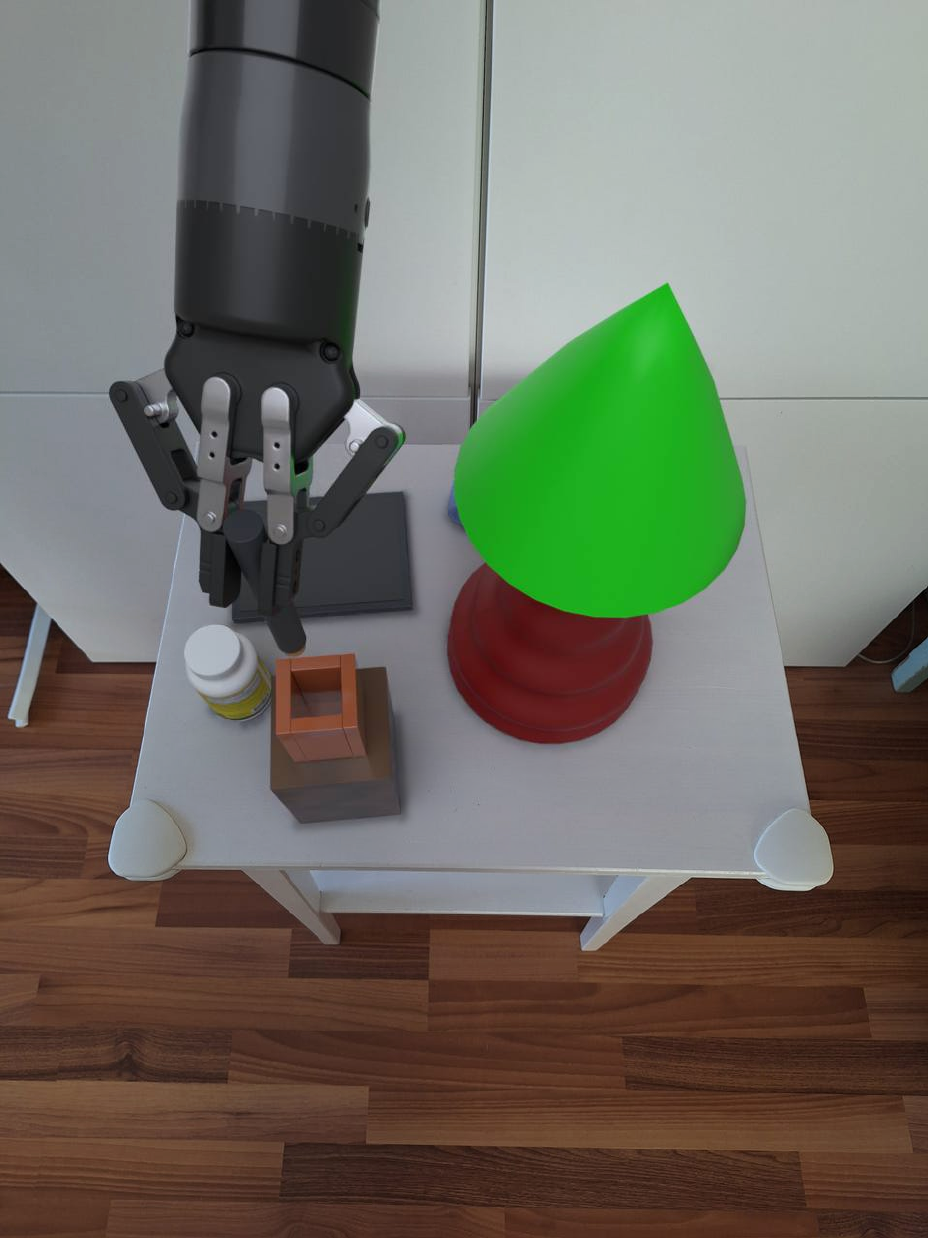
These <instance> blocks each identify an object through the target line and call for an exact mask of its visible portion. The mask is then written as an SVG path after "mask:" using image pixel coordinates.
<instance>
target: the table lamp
mask: <svg viewBox="0 0 928 1238" xmlns="http://www.w3.org/2000/svg"><path fill="white" fill-rule="evenodd" d="M686 318H687V317H686V316H685V315H684V312H683V310H682V308H681V306H680V305H679V302H678V300H677V298H676V296H675V294H674V292H673V290H672V288H671V285H670V284H669V282H665V283H664V284H662V285H661V286H659V287H657V288H656V289H653V290H652V291H651V292H648V293H647V294H645V295H643V296H642V297H640V298H638V299H636V300H635V301H633V302H631V303H630V304H628V305H625V307H622V308H621V309H620V310H618V311H616V312H614V313H613V314H611V315H610V316H608V317H606V318H605V319H603V320H602V321H600V322H598V323H597V324H595V325H593V326H592V327H591V328H589V329H587V330H586V331H584V332H582V333H581V334H579V335H578V336H575V337H574V338H573V339H571V340H570V341H568V342H567V343H566V344H564V345H563V346H562V347H561V348H559V350H557V351H556V352H554V353H553V354H552V355H551V356H550V357H548V359H546V360H545V361H543V362H542V363H541V364H539V366H537V367H536V368H535V369H534V370H533V371H531V372H530V373H528V375H526V376H525V377H524V378H522V379H521V380H520V381H519V382H518V383H516V384H515V385H514V386H513V387H512V388H510V389H509V390H508V391H507V392H506V393H504V394H503V395H502V396H501V397H500V398H498V399H497V400H495V401H494V403H492V404H491V405H489V407H487V408H486V409H485V410H484V411H483V412H482V414H481V415H480V416H479V417H478V418H477V420H476V421H475V422H474V423H473V424H472V426H471V427H470V429H469V431H468V432H467V434H466V436H465V438H464V440H463V442H462V443H461V446H459V447H460V448H459V451H458V455H457V459H456V462H455V466H454V473H453V474H454V477H453V478H454V480H453V481H454V495H455V500H456V504H457V509H458V514H459V518H460V520H461V523H462V525H461V526H462V527H463V530H464V531H465V533H466V536H467V538H468V539H469V542H470V544H471V545H472V546H473V547H474V549H475V551H477V553H478V554H479V556H480V557H481V558H482V559H483V560H484V563H483V564H481V565H480V566H479V567H478V568H477V569H475V571H474V572H472V574H471V575H470V576H469V577H468V579H467V580H466V581H465V582H464V584H463V585H462V586H461V589H460V591H459V593H458V594H457V597H456V599H455V601H454V604H453V608H452V612H451V617H450V623H449V627H448V631H447V636H446V637H447V641H446V642H447V643H446V645H447V646H446V647H447V648H446V650H447V651H446V652H447V653H446V654H447V660H448V666H449V671H450V674H451V677H452V679H453V680H452V681H453V682H454V684H455V686H456V690H457V691H458V692H459V694H460V696H461V697H462V698H463V700H464V701H465V702H466V704H467V705H468V707H469V708H471V710H473V711H474V713H475V714H476V715H477V716H479V717H480V718H481V719H482V720H483V721H484V722H485V723H487V724H488V725H490V726H492V727H493V728H494V729H496V730H498V731H499V732H500V733H503V734H506V735H507V736H511V737H512V738H515V739H517V740H520V741H525V742H530V743H534V744H540V745H541V744H547V745H548V744H550V745H552V744H553V745H555V744H556V745H557V744H558V745H561V744H566V743H572V742H578V741H582V740H584V739H587V738H590V737H593V736H595V735H598V734H600V733H601V732H602V731H604V730H606V729H607V728H609V727H611V725H613V724H614V723H616V721H617V720H618V719H619V718H621V716H622V715H623V714H624V713H625V712H626V711H627V710H628V709H629V707H630V706H631V704H632V703H633V701H634V699H635V698H636V697H637V695H638V692H639V689H640V687H641V685H642V683H643V682H644V680H645V678H646V675H647V673H648V670H649V668H650V664H651V661H652V654H653V653H652V652H653V644H654V640H653V639H654V638H653V633H652V632H653V631H652V622H651V620H650V617H649V615H652V614H657V613H660V612H662V611H665V610H668V609H671V608H674V607H676V606H679V605H681V604H683V603H686V602H687V601H689V600H690V599H691V598H694V597H695V596H697V595H698V594H700V593H701V592H703V591H704V590H706V589H708V587H710V585H711V584H712V583H714V581H716V580H717V578H719V576H721V574H722V573H724V571H725V570H726V568H727V567H728V565H730V564H729V563H730V562H731V561H732V559H733V557H734V555H735V554H736V552H737V551H738V549H739V546H740V543H741V540H742V536H743V534H744V529H745V526H746V511H747V497H746V492H745V486H744V479H743V476H742V472H741V469H740V464H739V462H738V459H737V455H736V452H735V448H734V443H733V441H732V438H731V437H732V436H731V433H730V430H729V427H728V424H727V420H726V416H725V413H724V410H723V406H722V403H721V400H720V396H719V391H718V388H717V386H716V383H715V382H716V381H715V379H714V377H713V375H712V372H711V370H710V368H709V366H708V364H707V362H706V359H705V357H704V355H703V353H702V350H701V348H700V346H699V343H698V341H697V339H696V337H695V335H694V332H693V330H692V329H691V327H690V324H689V323H688V320H687V319H686Z"/></svg>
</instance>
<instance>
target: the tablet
mask: <svg viewBox="0 0 928 1238" xmlns="http://www.w3.org/2000/svg"><path fill="white" fill-rule="evenodd" d="M323 497H324V496H309V507H310V506H315V505H318V503H319V502H320V501H321V499H322V498H323ZM404 498H405V497H404V491H389V492H387V491H386V492H374V493H366V494H365V495H364V496H363V498H362V499H361V500H360V502H359V503H358V504H357V506H356V507H355V508H354V510H353V511H352V512H351V514H350V515H349V516H348V517H347V519H346V520H345V521H344V523H343V524H342V525H340V526H339V527H338V528H335V529H334V530H333V532H332V533H331V534H329V535H328V536H327V537H324V538H317V537H309V538H305V539H304V541H303V547H302V559H301V570H300V579H299V580H300V582H299V591H298V592H297V594H296V596H295V598H294V599H293V602H294V605H295V608H296V610H297V613H298V615H299V618H300V620H302V619H313V618H325V617H327V618H328V617H339V616H352V615H366V614H368V615H369V614H379V613H390V612H391V613H393V612H406V611H413V600H412V599H413V598H412V587H411V574H410V563H409V550H408V537H407V535H408V534H407V524H406V511H405V510H406V509H405V499H404ZM243 509H249V510H253V511H255V512H256V513H258V514H259V515H260V516H261V518H262V520H263V523H264V526H265V528H266V531H267V499H262V500H247V501H245V500H244V502H243ZM267 534H268V533H267ZM257 608H258V604H257V602H256V600H255V598H254V596H253V594H252V592H251V589H250V587H249V585H248V583H247V581H246V579H245V577H244V575H243V573H241V589H240V594H239V597H238V599H237V600H236V601H234V602H233V603H232V604H231V621H232V623H233V624H246V623H259V622H266V621H265V619H264V617H263V615H259V614H258V611H257Z"/></svg>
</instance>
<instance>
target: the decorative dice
mask: <svg viewBox="0 0 928 1238" xmlns="http://www.w3.org/2000/svg"><path fill="white" fill-rule="evenodd" d="M447 516H448V517H449V518H450V519H451V521H452V522H454V523H456V524H458V525H459V526H463V525H462V523H461V520H460V518H459V514H458V509H457V504H456V500H455V495H454V480H453V481H452V484H451V488H450V494H449V498H448V505H447Z"/></svg>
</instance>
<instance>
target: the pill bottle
mask: <svg viewBox="0 0 928 1238" xmlns="http://www.w3.org/2000/svg"><path fill="white" fill-rule="evenodd" d="M183 657H184V661H185V675H186V677H187V679H188V681H189V683H190V685H191V686H192V688H193V689H194V690H195V691H196V692H197V694H198V695H199V696H200V697H201V698H202V700H204V701H205V703H206V704H207V705H208V706H209V707H210V709H211V710H212V711H213V712H215V713H216V714H217V715H218V716H219V717H221V718H222V719H223V720H227V721H230V722H235V723H236V722H238V723H239V722H240V723H241V722H246V721H250V720H252V719H255V718H256V717H258V716H259V715H261V714H262V713H263V712H264V711H265V710H266V709H267V708H268V707H269V705H270V704H271V676H272V675H271V674H270V672H269V671H268V669H267V667H266V666H265V664H264V661H263V660H262V657H261V656H260V655H259V653H258V651H257V650H256V648H255V646H254V645H253V642H251V641H250V639H248V637H246V636H245V635H243V634H241V633H238V632H236V631H234V630H233V629H231V628H230V627H228V626H226V625H223V624H208V625H204V626H202V627H200V628H198V629H196V631H194V632H193V633H192V634H191V635H190V636H189V638H188V639H187V641H186V643H185V645H184V650H183Z"/></svg>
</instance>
